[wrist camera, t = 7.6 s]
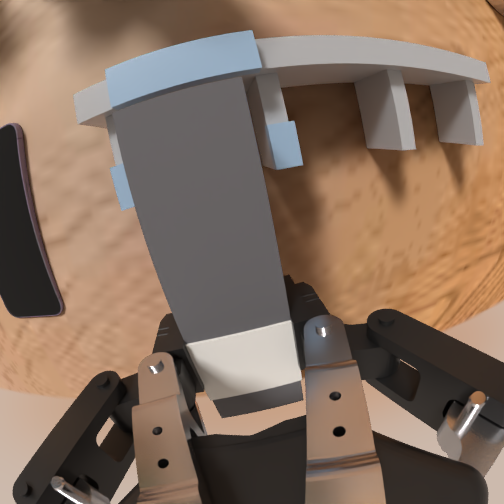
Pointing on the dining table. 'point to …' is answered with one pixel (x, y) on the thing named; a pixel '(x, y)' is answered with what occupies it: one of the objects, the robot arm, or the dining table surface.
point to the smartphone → (22, 237)
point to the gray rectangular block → (213, 240)
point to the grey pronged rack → (297, 74)
